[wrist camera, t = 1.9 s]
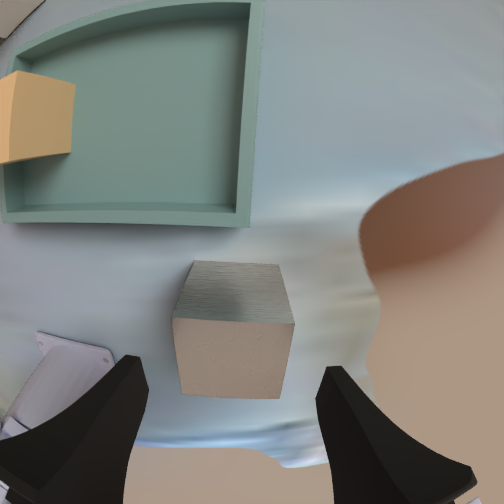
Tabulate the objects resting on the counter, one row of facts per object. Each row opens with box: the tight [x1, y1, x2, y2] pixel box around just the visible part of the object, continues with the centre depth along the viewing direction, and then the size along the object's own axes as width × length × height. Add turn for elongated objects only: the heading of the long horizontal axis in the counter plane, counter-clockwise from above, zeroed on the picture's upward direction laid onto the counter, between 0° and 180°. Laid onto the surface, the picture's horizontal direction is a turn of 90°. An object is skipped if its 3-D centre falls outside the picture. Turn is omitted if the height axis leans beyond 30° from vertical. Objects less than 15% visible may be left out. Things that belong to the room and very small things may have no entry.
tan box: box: [0, 70, 76, 165], centre depth 8 cm, size 4×4×5 cm
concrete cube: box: [171, 260, 295, 399], centre depth 13 cm, size 5×5×6 cm
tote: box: [0, 0, 265, 228], centre depth 10 cm, size 11×15×2 cm
